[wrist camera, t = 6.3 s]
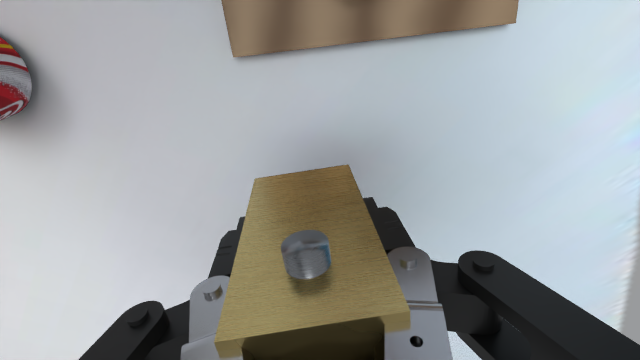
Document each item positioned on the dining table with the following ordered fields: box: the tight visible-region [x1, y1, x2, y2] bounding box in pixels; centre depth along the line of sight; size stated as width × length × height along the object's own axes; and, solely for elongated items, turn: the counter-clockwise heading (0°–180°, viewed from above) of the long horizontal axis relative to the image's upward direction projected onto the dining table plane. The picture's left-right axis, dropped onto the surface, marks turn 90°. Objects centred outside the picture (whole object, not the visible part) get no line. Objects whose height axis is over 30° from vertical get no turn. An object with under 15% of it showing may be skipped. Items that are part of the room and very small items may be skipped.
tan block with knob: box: [214, 165, 410, 360], centre depth 11 cm, size 4×5×8 cm
